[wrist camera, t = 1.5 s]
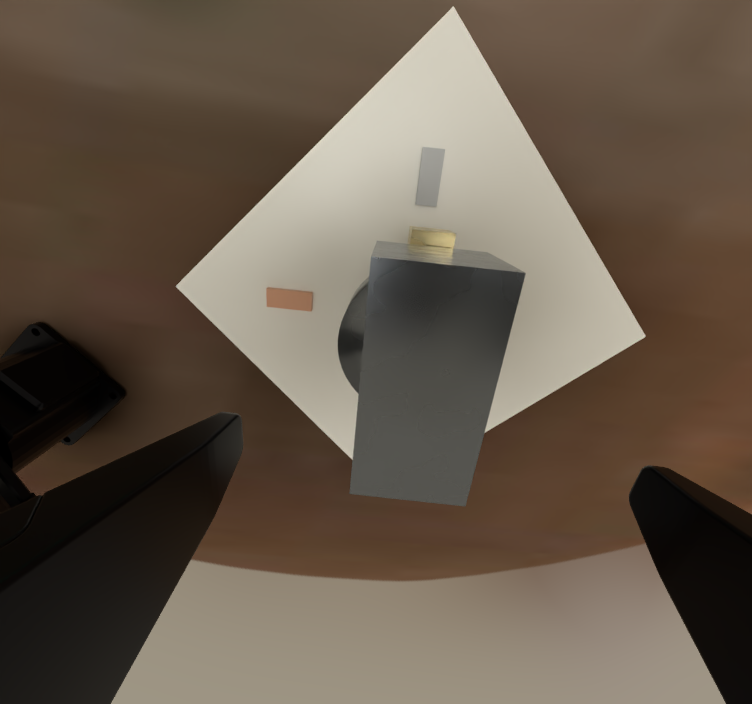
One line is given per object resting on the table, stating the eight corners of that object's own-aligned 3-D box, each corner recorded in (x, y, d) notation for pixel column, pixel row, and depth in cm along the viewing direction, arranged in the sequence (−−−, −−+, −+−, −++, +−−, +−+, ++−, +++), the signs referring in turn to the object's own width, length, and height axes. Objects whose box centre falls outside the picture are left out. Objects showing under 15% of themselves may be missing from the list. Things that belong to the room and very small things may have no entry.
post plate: (385, 479, 25) (384, 526, 22) (187, 281, 20) (142, 299, 17) (632, 329, 20) (684, 357, 17) (449, 20, 16) (466, -36, 12)
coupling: (466, 412, 18) (500, 510, 12) (339, 398, 18) (314, 490, 12) (506, 235, 15) (578, 258, 9) (351, 219, 15) (325, 231, 9)
